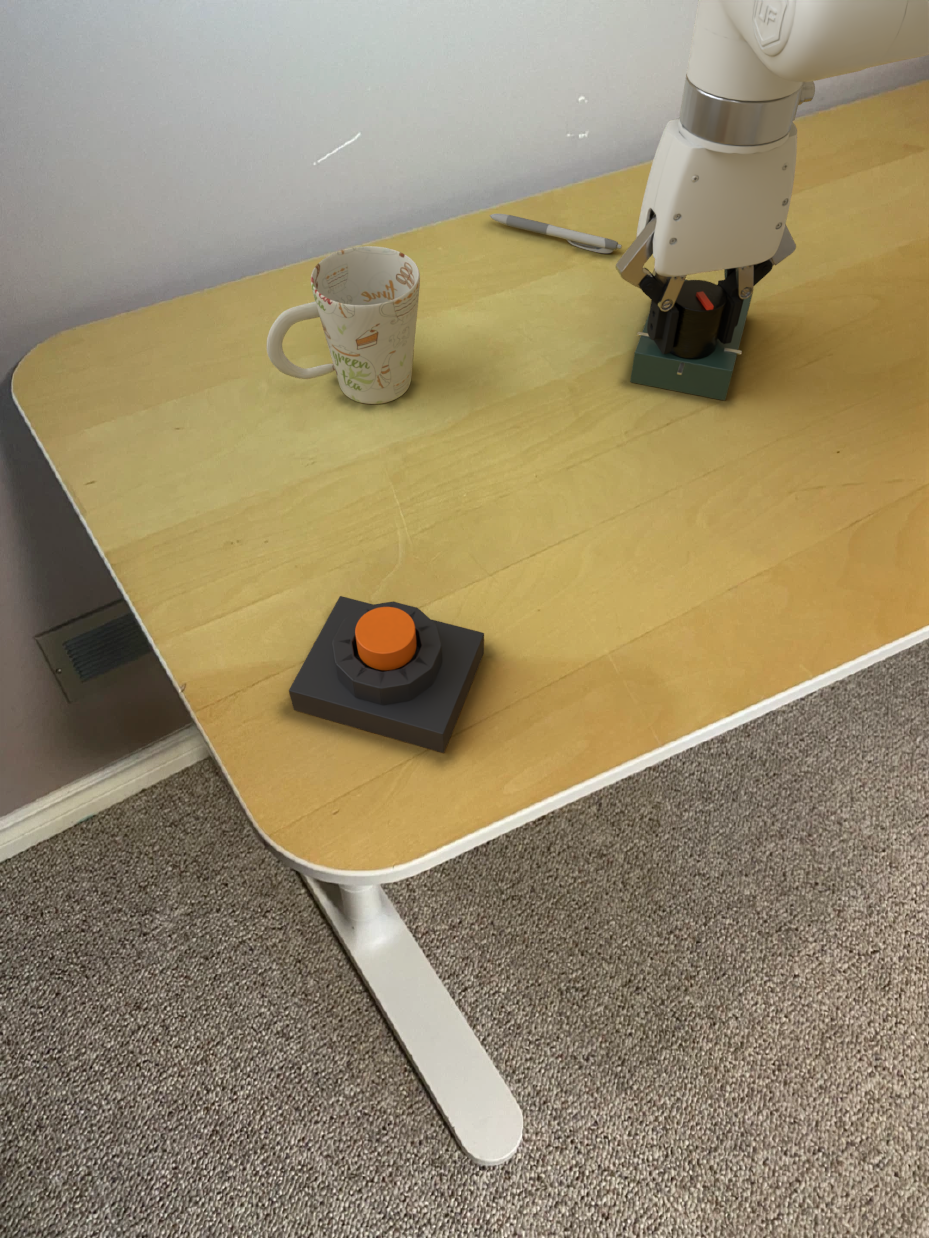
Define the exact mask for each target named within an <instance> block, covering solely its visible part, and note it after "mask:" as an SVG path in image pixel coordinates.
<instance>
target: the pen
mask: <svg viewBox="0 0 929 1238" xmlns="http://www.w3.org/2000/svg"><path fill="white" fill-rule="evenodd" d="M489 217H490V219H492V220H493V221H494V222H497V223H499V224H502V225H505V226H507V227H512V228H515V229H520V230H525V231H528V232H531V233H532V232H533V233H537V234H541V235H545V236H549V237H555V238H560V239H564V240H566V241H567V242H568V243H569V244H570V245H572V246H574V247H576V248H580V249H583V250H586V251H590V252H595V253H599V254H611V253H613V252H614V251H616V250H621V249H622V247H623V246H622V244H620V243H619V242H618V241H617V240H613V239H611V238H607V237H603V236H599V235H595V234H591V233H587V232H586V233H585V232H582V231H577V230H574V229H569V228H565V227H561V226H557V225H553V224H550V223H546V222H541V221H537V220H533V219H529V218H525V217H521V216H516V215H512V214H506V213H492V214H490V215H489Z"/></svg>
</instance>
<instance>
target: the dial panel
mask: <svg viewBox="0 0 929 1238" xmlns="http://www.w3.org/2000/svg"><path fill="white" fill-rule="evenodd" d="M687 280H688V279H685V281H687ZM753 294H754V292H753V293H752V295H751V296H750V297H748V298H747V299H744V301H743V305H742V309H741V313H740V317H739V321H738V325H737V326H736V327H735V329H734V333H733V337H732V341H731V343H728V344H723V343H721V342H720V341H719V339H718V340H717V344H716V348H715V350H714V352H713V353H712V354H710V355H709V356H707V357H704V358H700V359H684V358H680V357H677V356H675V355H673V354H671V353H667V354H662V352H661V351H660V349H659V348H658V346H657V345H656V343H655V342H654V340H651V339H650V337H649V335H648V332H647V324H648V318H649V314H648V315H647V318H646V320H645V323H644V326H643V329H642V332H641V331H637V333H636V336H637V337H639V340H638V342H637V344H636V347H635V351H634V354H633V361H632V366H631V373H630V379H629V382H630V383H633V384H637V385H643V386H648V387H653V388H659V389H664V390H669V391H673V392H679V393H684V394H688V395H694V396H699V397H704V398H709V399H715V400H720V401H726V399H727V395H728V392H729V388H730V384H731V381H732V376H733V373H734V368H735V365H736V360H737V356H738V355H739V356H741V355H742V353H743V351H742V350H740V345H741V341H742V337H743V333H744V329H745V325H746V321H747V316H748V313H749V309H750V305H751V302H752V298H753Z"/></svg>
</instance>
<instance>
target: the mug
mask: <svg viewBox="0 0 929 1238" xmlns="http://www.w3.org/2000/svg"><path fill="white" fill-rule="evenodd" d="M310 286H311V291H312V296H313V298H314V301H311V302H307V303H302V304H300V305H296V306H292V307H290V308H287V309H285V310H284V311H282V312H281V313H280V314H279V315H278V316H277V317H276V319H275V320H274V322H273V323H272V325H271V327H270V329H269V331H268V333H267V338H266V353H267V357H268V359H269V361H270V363H271V364H272V365H273V366H274V367H275V368H276V369H277V370H278V371H279V372H281V373H282V374H284V375H286V376H289V377H292V378H296V379H300V380H311V379H315V378H320V377H322V376H325V375H329V374H331V373H333V372H334V371H335V375H336V378H337V383H338V385H339V388H340V390H341V391H342V393H343V394H344V396H346V397H347V398H349V399H350V400H352V401H355V402H357V403H361V404H367V405H379V404H386V403H389V402H392V401H394V400H397V399H398V398H401V397H402V396H403V395H404V394H405V393H407V391H408V389H409V388H410V386H411V381H412V375H413V366H414V365H413V364H414V352H415V342H416V332H417V331H416V330H417V319H418V310H419V297H420V287H421V274H420V270H419V267H418V265H417V263H416V262H415V261H414V259H412V258H411V257H409V256H408V255H406V254H405V253H403V252H401V251H399V250H395V249H392V248H389V247H385V246H384V247H383V246H376V245H375V246H374V245H373V246H371V245H364V246H354V247H350V248H345V249H341V250H338V251H335V252H333V253H331V254H329V255H327V256H325V257H324V258H322V259H321V260H320V261H319V262H318V263H317V264H316V265H315V267H314V268H313V269H312V271H311V275H310ZM317 318H319V320H320V323H321V327H322V330H323V334H324V337H325V340H326V344H327V347H328V351H329V354H330V357H331V361H332V363H326V364H321V365H320V364H319V365H317V366H313V367H308V368H304V367H301V366H298V365H297V364H295V363H294V362H292V361H290V360H289V358H288V357H287V356H286V354H285V352H284V349H283V341H284V340H285V336H286V334H287V333H288V331H289V330H290V328H291V327H292V326H293V325H295V324H297V323H299V322H303V321H308V320H312V319H317Z"/></svg>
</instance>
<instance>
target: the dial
mask: <svg viewBox="0 0 929 1238" xmlns="http://www.w3.org/2000/svg"><path fill="white" fill-rule="evenodd" d="M686 280H687V281H684V283H683V285H682V288H681V290H680V292H679V295H678V297H677V299H676V302H675V304H674V305H675V306H676V307H677V309H678V310H679V317H678V322H677V328H676V333H675V338H674V343H673V348H672V351H670V353H671V354H673V355H675V356H677V357H680V358H684V359H700V358H704V357H707V356H709V355H710V354H712V353H713V352H714V350H715V348H716V344H717V340H718V336H719V331H720V327H721V323H722V319H723V314H724V310H725V306H726V302H727V295H726V293H725V291H724V290H723V289H722V288H721V287H719V286H718V284H716V283H714V282H712V281H709V280H708V281H707V280H703V279H686Z"/></svg>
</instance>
